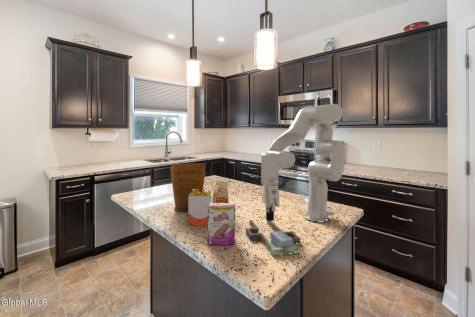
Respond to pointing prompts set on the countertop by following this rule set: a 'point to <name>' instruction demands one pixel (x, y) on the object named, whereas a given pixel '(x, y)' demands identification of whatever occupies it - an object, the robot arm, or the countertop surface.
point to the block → (281, 239)
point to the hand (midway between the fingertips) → (269, 220)
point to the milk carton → (221, 192)
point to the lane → (255, 235)
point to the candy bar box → (221, 224)
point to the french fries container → (198, 207)
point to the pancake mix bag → (186, 182)
